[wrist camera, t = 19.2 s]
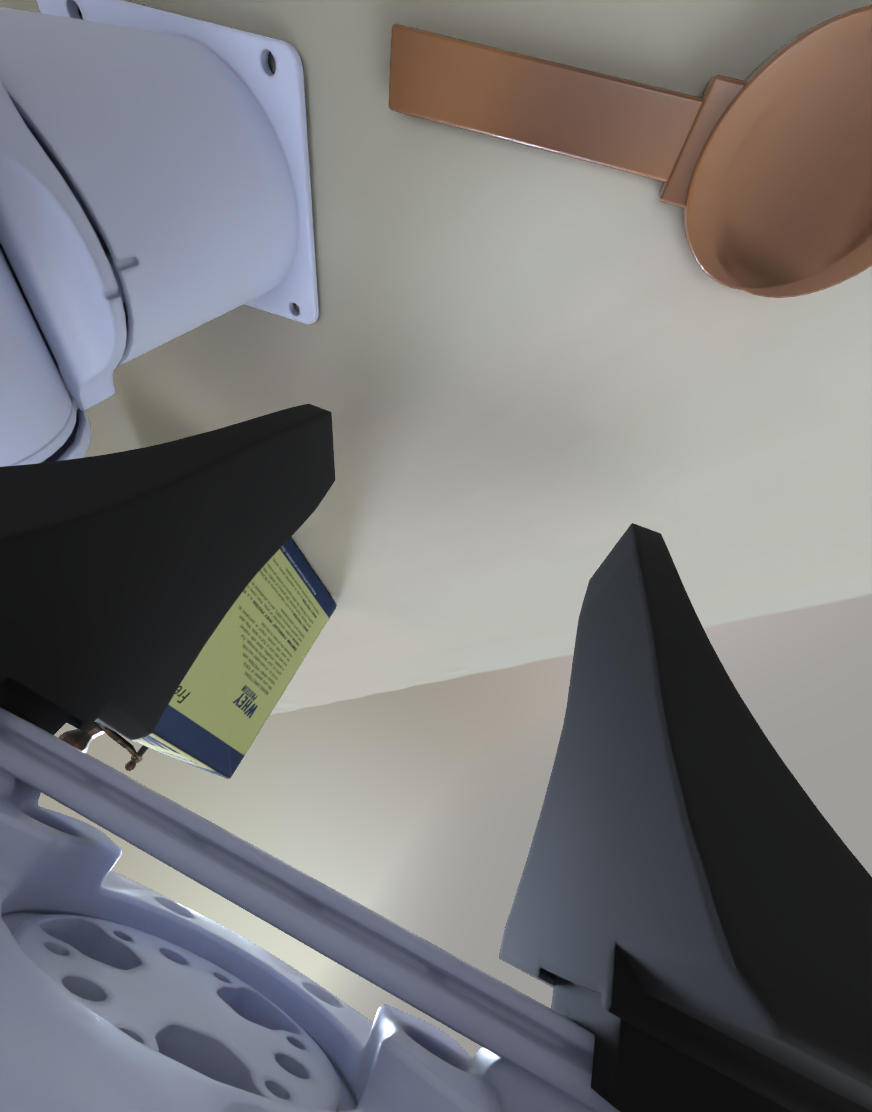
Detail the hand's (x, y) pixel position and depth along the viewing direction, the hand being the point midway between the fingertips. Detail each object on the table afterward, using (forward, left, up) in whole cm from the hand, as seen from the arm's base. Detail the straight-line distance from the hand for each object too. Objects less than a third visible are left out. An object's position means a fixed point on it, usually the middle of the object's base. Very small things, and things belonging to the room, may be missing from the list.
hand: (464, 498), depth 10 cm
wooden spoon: (+1, +6, -10) cm, 12 cm away
